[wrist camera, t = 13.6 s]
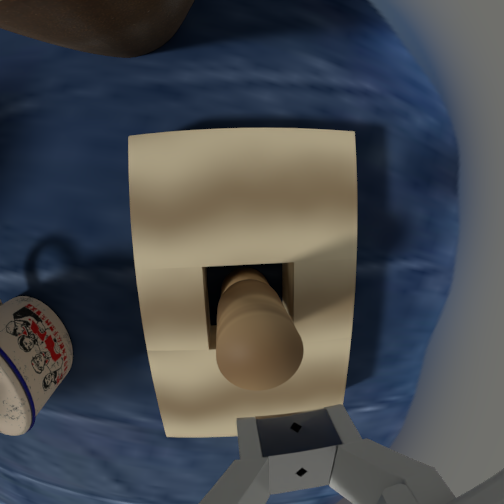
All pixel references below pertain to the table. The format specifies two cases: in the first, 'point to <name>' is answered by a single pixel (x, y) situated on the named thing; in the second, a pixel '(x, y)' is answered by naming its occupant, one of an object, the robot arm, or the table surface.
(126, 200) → the table surface
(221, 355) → the peg
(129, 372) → the table surface
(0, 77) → the table surface
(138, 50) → the plant pot
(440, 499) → the robot arm
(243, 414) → the block
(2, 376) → the teacup with lid
